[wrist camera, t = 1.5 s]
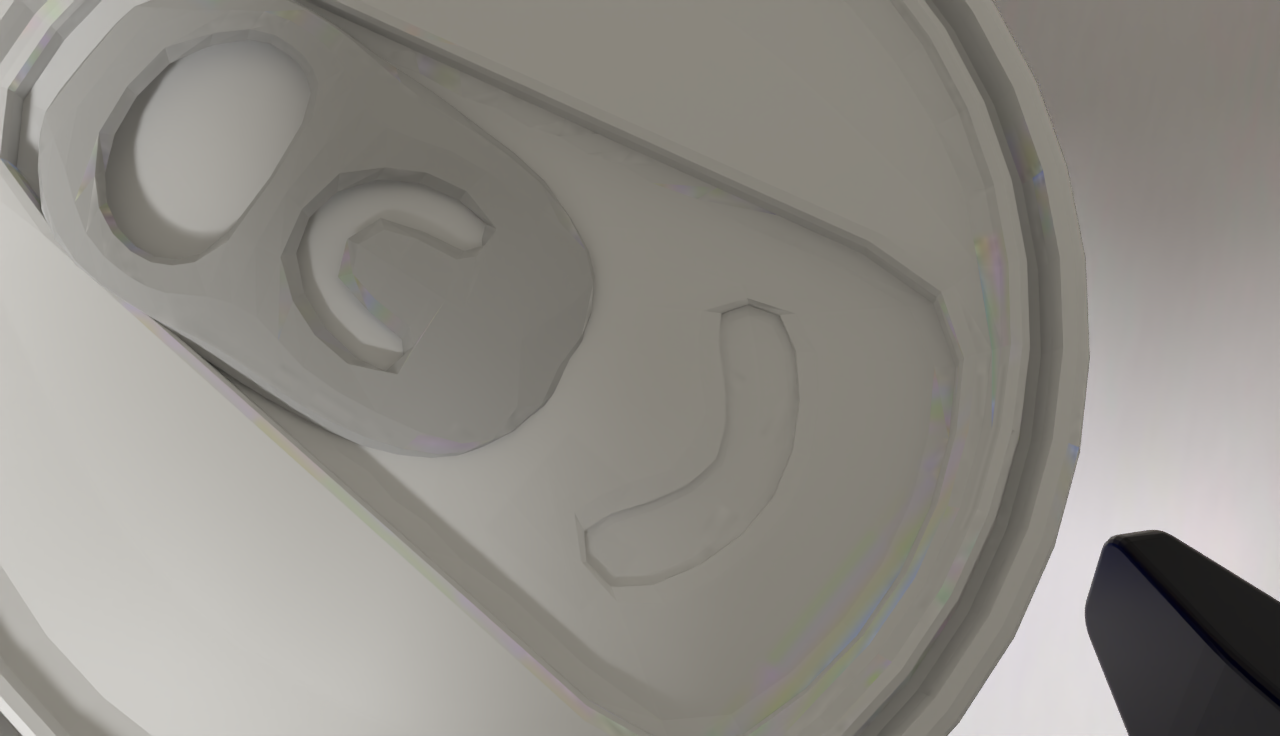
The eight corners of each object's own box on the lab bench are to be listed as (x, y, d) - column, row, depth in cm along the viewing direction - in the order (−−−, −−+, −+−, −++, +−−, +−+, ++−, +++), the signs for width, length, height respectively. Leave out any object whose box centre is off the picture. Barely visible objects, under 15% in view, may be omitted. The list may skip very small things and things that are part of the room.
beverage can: (734, 448, 19) (1394, 106, 4) (568, 716, 18) (710, 1411, 4) (478, 284, 19) (293, -587, 4) (301, 543, 18) (-673, 517, 4)
